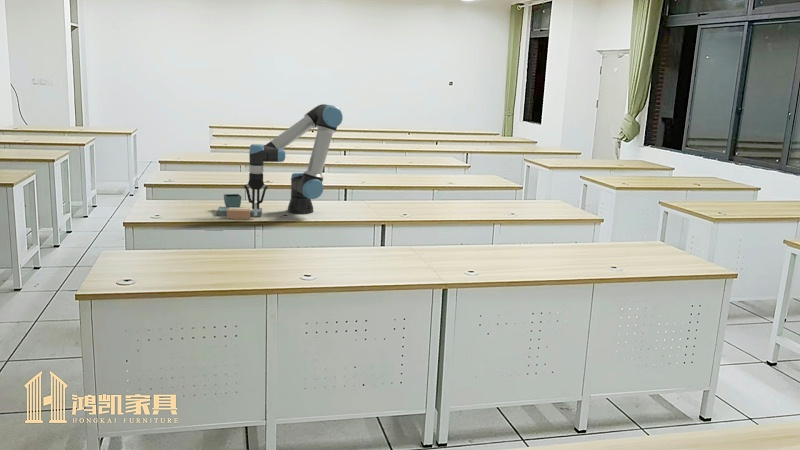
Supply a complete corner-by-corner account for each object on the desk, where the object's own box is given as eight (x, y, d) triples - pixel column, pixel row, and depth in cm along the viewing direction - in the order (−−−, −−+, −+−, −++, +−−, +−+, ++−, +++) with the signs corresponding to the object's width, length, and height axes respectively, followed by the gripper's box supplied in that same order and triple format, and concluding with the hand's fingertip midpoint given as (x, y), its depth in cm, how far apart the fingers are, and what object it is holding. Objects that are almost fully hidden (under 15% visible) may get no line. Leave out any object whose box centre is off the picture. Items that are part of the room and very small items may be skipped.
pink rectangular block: (249, 216, 376) (250, 208, 375) (249, 219, 370) (249, 210, 369) (227, 216, 374) (227, 207, 373) (226, 218, 369) (226, 210, 368)
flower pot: (223, 209, 393) (223, 194, 391) (238, 208, 397) (238, 193, 395) (226, 212, 385) (226, 196, 384) (241, 211, 389) (241, 196, 387)
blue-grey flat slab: (262, 213, 388) (262, 207, 388) (260, 217, 378) (261, 211, 377) (219, 212, 385) (219, 206, 384) (216, 215, 374) (216, 210, 373)
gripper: (268, 172, 372) (267, 214, 377) (244, 171, 370) (244, 213, 374) (268, 174, 364) (267, 216, 369) (243, 173, 362) (242, 216, 367)
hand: (255, 215), depth 372 cm, fingers closed
